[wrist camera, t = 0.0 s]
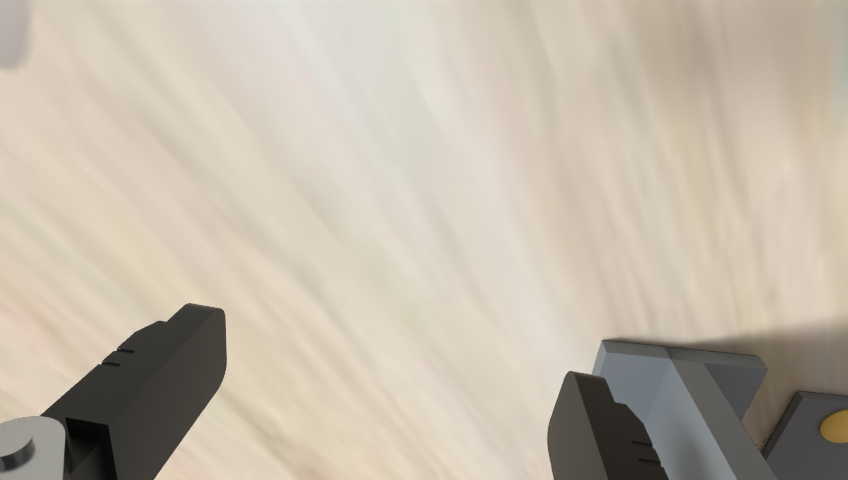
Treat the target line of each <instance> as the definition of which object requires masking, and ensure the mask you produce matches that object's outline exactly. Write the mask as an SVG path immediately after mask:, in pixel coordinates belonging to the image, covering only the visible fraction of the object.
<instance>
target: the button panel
mask: <svg viewBox="0 0 848 480" xmlns="http://www.w3.org/2000/svg"><path fill="white" fill-rule="evenodd" d="M767 371H768V368H767V367H766V366H765V365H764V363H763V362H762V361H761V360H760V358H759V357H758V356H751V355H741V354H731V353H721V352H712V351H702V350H692V349H682V348H673V347H663V346H653V345H643V344H633V343H624V342H614V341H604V340H602V342H601V345H600V348H599V352H598V355H597V359H596V362H595V365H594V369H593V372H592V375H596V376H601V377H604V378H605V380H606V381H607V384H608V386H609V389H610V391H611V393H612V396H613V398H614V401H615V402H616V403H622V404H626V405H627V406H628V407H629V408H630V409H631V411H632V412H633V413H634V414H635V415H636V416H637V417H638V418H639V419H640V421H641V422H642V423H643V424H644V426H645V428H646V431H647V433H648V435H649V437H650V439H651V441H652V444H653V449H655V450H656V452H657V454H658V457H659V459H660V461H661V467H664V470H665V472H666V474H667V476H668V478H669V480H778V479H777V478H776V476H775V475H774V473H773V472H772V470H771V469H770V467H769V465H768V464H767V462H766V461H765V459H764V458H763V456H762V454H761V453H760V451H759V450H758V448H757V447H756V445H755V443H754V442H753V440H752V439H751V437H750V436H749V434H748V432H747V431H746V429H745V428H744V426H743V425H742V423H741V420H742V418H743V416H744V414H745V412H746V411H747V409H748V407H749V405H750V403H751V401H752V399H753V397H754V395H755V393H756V392H757V390H758V388H759V386H760V384H761V382H762V380H763V378H764V376H765V374H766V372H767Z"/></svg>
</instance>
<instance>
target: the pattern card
mask: <svg viewBox="0 0 848 480" xmlns="http://www.w3.org/2000/svg"><path fill="white" fill-rule="evenodd" d="M761 454H762V456H763V458H764V459H765V461H766V462H767V464H768V465H769V467H770V469H771V470H772V472H773V473H774V475H775V476H776V478H777V479H778V480H848V396H840V395H831V394H821V393H812V392H803V391H797V393H796V395H795V397H794V398H793V400H792V402H791V403H790V405H789V407H788V409H787V410H786V412H785V414H784V415H783V417H782V419H781V421H780V422H779V424H778V426H777V427H776V429H775V431H774V433H773V434H772V436H771V438H770V440H769V441H768V443H767V445H766V446H765V448H764V450H763V452H762V453H761Z"/></svg>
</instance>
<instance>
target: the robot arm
mask: <svg viewBox="0 0 848 480" xmlns="http://www.w3.org/2000/svg"><path fill="white" fill-rule="evenodd" d="M226 364H227V355H226V322H225V313H224V311H223V310H222V309H220V308H214V307H209V306H203V305H197V304H191V303H188V304H186V305H184V306H183V307H182V308H181V309H180V310H179V311H178V312H177V313H176V314H174V315H173V316H172V317H171V318H170V319H169V320H168V321H167V322H164V321H157V322H155V323H153V324H151V325H149V326H147V327H145V328H143V329H141V330H139V331H137V332H135V333H134V334H132V335H131V336H130V337H129V338H128V339H127V340H126V341H125V342H123V343H122V344H121V345H120V346H119V347H118V348H117V351H113V352H112V353H111V354H110V355H109V356H107V357H106V358H105V359H104V360H103V361H102V364H101V365H100V364H98V365H97V366H96V367H95V368H94V369H93V370H91V371H90V372H89V373H88V374H87V375H86V376H85V377H83V378H82V379H81V380H80V381H79V382H78V383H77V384H76V385H74V386H73V387H72V388H71V389H70V390H69V391H68V392H66V393H65V394H64V395H63V396H62V397H61V398H60V399H58V400H57V401H56V402H55V403H54V404H53V405H52V406H50V407H49V408H48V409H47V410H46V411H45V412H44V413H42V414H41V415H40V416H32V417H23V418H18V419H14V420H10V421H7V422H4V423H1V424H0V480H154V478H155V477H156V476H157V474H158V473H159V471H160V470H161V469H162V467H163V466H164V464H165V463H166V462H167V460H168V459H169V457H170V456H171V455H172V453H173V452H174V450H175V449H176V448H177V446H178V445H179V443H180V442H181V441H182V439H183V438H184V436H185V435H186V434H187V432H188V431H189V429H190V428H191V427H192V425H193V424H194V422H195V421H196V420H197V418H198V417H199V415H200V414H201V413H202V411H203V410H204V408H205V407H206V406H207V404H208V403H209V401H210V400H211V399H212V397H213V396H214V394H215V393H216V392H217V390H218V389H219V387H220V385H221V383H222V380H223V378H224V375H225V371H226ZM547 443H548V452H549V457H550V462H551V467H552V472H553V477H554V480H669V478H668V476H667V474H666V472H665V470H664V467H661V461H660V459H659V457H658V454H657V452H656V450H655V449H653V444H652V441H651V439H650V437H649V435H648V433H647V431H646V428H645V426H644V424H643V423H642V422H641V421H640V419H639V418H638V417H637V416H636V415H635V414H634V413H633V412H632V411H631V409H630V408H629V407H628V406H627V405H626V404H622V403H616V402H615V401H614V398H613V396H612V393H611V391H610V389H609V386H608V384H607V381H606V380H605V378H604V377H601V376H596V375H590V374H584V373H579V372H573V371H569V372H568V373H567V374H566V376H565V378H564V381H563V384H562V387H561V390H560V393H559V395H558V398H557V401H556V404H555V407H554V410H553V413H552V416H551V419H550V422H549V427H548V436H547Z"/></svg>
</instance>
